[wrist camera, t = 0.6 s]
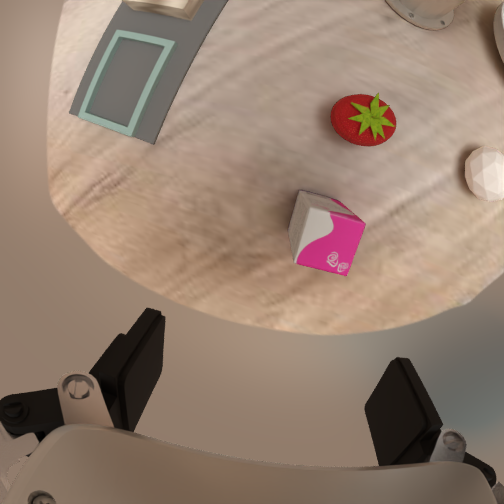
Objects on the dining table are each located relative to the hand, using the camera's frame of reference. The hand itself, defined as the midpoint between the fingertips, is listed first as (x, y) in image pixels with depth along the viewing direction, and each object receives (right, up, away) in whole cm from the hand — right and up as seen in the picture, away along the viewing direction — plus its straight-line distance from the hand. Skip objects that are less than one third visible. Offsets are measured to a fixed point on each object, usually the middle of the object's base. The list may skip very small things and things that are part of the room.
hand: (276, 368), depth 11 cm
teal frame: (-18, +28, +22) cm, 40 cm away
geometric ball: (+32, +16, +23) cm, 42 cm away
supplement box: (+7, +9, +27) cm, 29 cm away
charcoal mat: (-16, +33, +21) cm, 42 cm away
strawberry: (+12, +21, +23) cm, 33 cm away
